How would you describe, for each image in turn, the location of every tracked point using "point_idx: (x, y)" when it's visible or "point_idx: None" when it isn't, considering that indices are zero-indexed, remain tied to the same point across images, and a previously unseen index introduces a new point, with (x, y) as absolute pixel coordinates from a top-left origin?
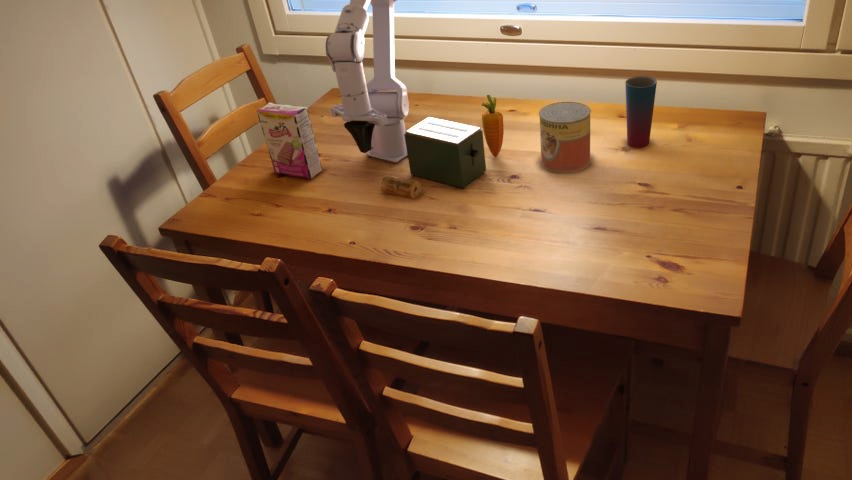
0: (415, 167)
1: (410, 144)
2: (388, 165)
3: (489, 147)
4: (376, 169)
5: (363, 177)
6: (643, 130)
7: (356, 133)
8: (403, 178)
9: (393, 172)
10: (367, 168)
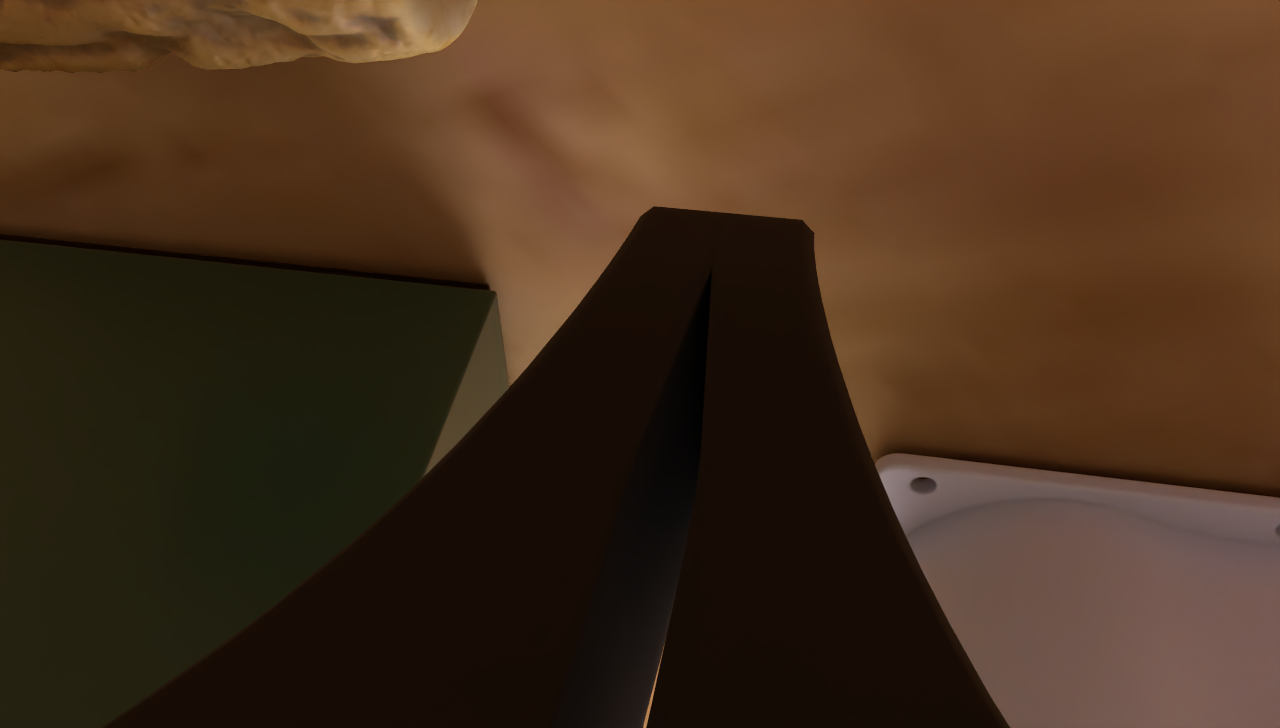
0: (364, 358)
1: None
2: (947, 394)
3: None
4: (1052, 288)
5: (1131, 61)
6: None
7: (485, 714)
8: (58, 19)
9: None
10: (1206, 277)
